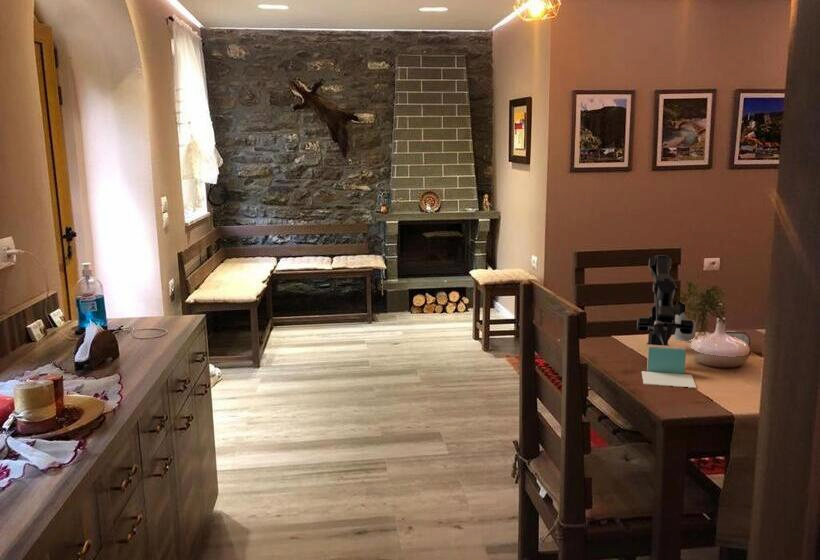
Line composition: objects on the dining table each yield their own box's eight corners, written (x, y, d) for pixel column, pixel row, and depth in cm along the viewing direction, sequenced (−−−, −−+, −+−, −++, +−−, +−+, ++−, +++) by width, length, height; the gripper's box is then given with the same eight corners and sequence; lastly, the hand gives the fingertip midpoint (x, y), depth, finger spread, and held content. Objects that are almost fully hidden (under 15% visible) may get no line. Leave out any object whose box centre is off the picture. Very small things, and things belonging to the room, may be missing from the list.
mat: (641, 372, 230) (641, 371, 230) (691, 375, 225) (691, 374, 225) (643, 384, 217) (643, 383, 217) (696, 388, 213) (696, 387, 213)
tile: (646, 369, 233) (648, 344, 232) (683, 371, 230) (685, 346, 228) (647, 372, 230) (648, 347, 228) (684, 375, 227) (686, 349, 225)
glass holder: (677, 341, 267) (679, 305, 264) (665, 332, 281) (667, 298, 278) (699, 342, 266) (701, 305, 264) (686, 332, 280) (688, 298, 278)
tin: (747, 350, 254) (749, 329, 252) (750, 353, 251) (752, 331, 249) (706, 350, 255) (708, 328, 254) (709, 352, 252) (710, 330, 251)
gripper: (638, 295, 239) (638, 332, 231) (694, 297, 234) (696, 335, 226) (636, 312, 248) (636, 348, 239) (690, 314, 243) (692, 352, 234)
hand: (665, 345), depth 234 cm, fingers closed
